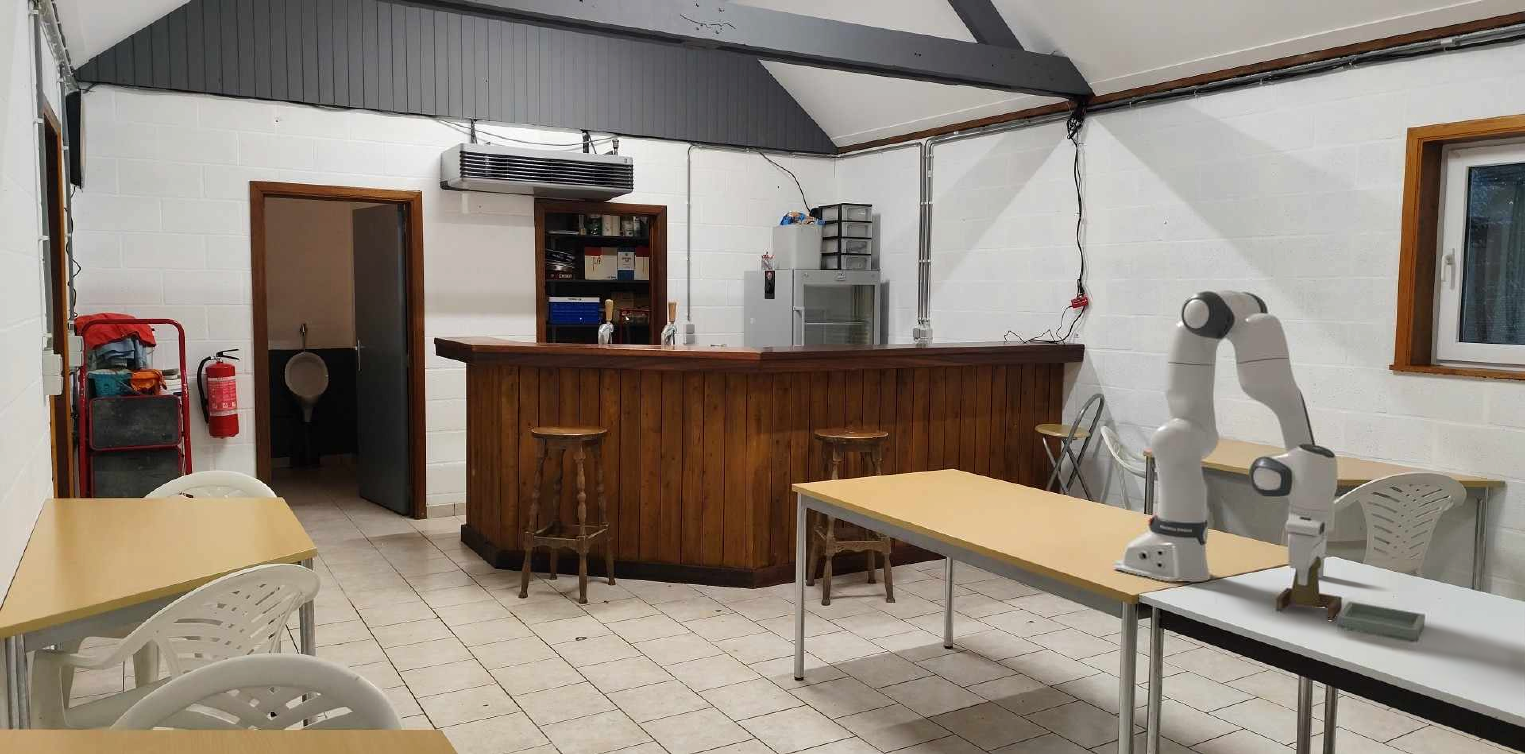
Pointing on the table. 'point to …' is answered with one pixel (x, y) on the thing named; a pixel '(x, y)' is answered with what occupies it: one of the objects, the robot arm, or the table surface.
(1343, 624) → the tray
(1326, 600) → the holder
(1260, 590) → the table surface
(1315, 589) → the brown knobbed cone
